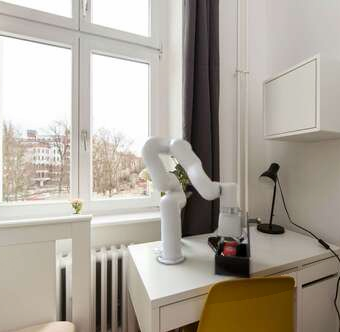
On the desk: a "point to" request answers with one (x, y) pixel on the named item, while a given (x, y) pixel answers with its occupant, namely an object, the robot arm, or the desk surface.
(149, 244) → the desk surface
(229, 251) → the race car
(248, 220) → the bin lid
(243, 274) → the bin
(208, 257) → the desk surface
